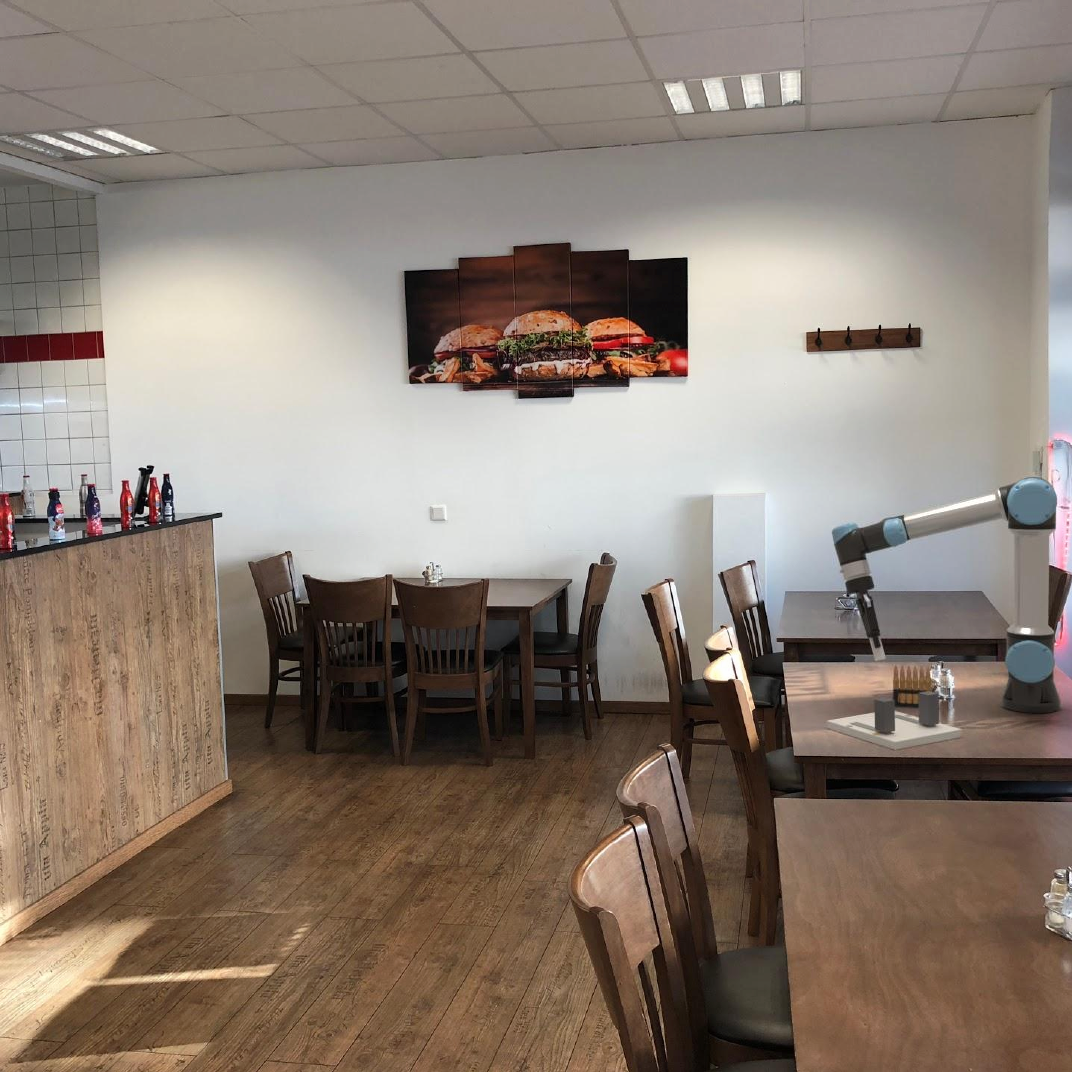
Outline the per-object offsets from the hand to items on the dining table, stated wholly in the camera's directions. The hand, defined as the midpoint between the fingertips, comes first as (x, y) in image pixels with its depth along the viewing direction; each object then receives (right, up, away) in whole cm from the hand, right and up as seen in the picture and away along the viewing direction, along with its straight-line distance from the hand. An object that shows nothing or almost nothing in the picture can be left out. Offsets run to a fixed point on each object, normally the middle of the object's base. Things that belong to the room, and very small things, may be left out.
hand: (880, 659), depth 312 cm
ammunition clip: (+12, -15, +9) cm, 21 cm away
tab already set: (-7, -15, -25) cm, 30 cm away
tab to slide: (+6, -14, -20) cm, 26 cm away
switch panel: (-2, -17, -18) cm, 25 cm away
